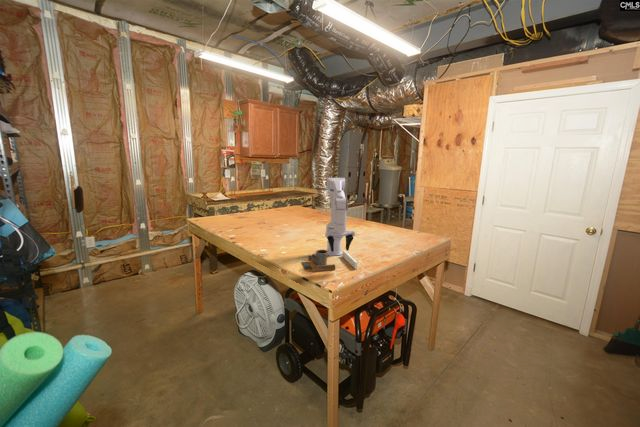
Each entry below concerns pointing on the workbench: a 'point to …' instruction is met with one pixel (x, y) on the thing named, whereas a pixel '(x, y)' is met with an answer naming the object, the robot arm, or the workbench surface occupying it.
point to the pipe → (320, 257)
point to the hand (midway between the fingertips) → (339, 250)
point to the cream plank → (349, 259)
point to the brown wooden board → (323, 266)
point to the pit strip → (306, 265)
